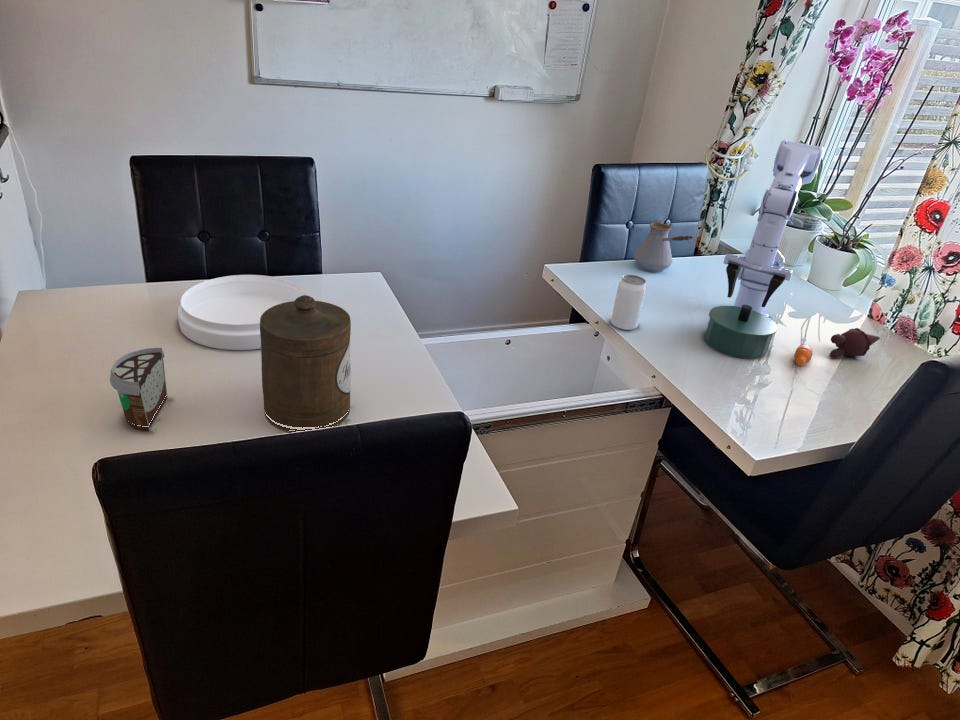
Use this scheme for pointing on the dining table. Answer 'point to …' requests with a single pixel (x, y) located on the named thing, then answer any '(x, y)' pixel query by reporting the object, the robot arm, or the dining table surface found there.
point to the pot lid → (743, 321)
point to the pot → (736, 342)
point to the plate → (232, 309)
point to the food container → (140, 386)
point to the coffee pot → (656, 248)
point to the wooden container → (305, 363)
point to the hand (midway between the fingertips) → (746, 301)
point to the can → (628, 302)
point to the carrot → (803, 355)
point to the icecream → (852, 343)
